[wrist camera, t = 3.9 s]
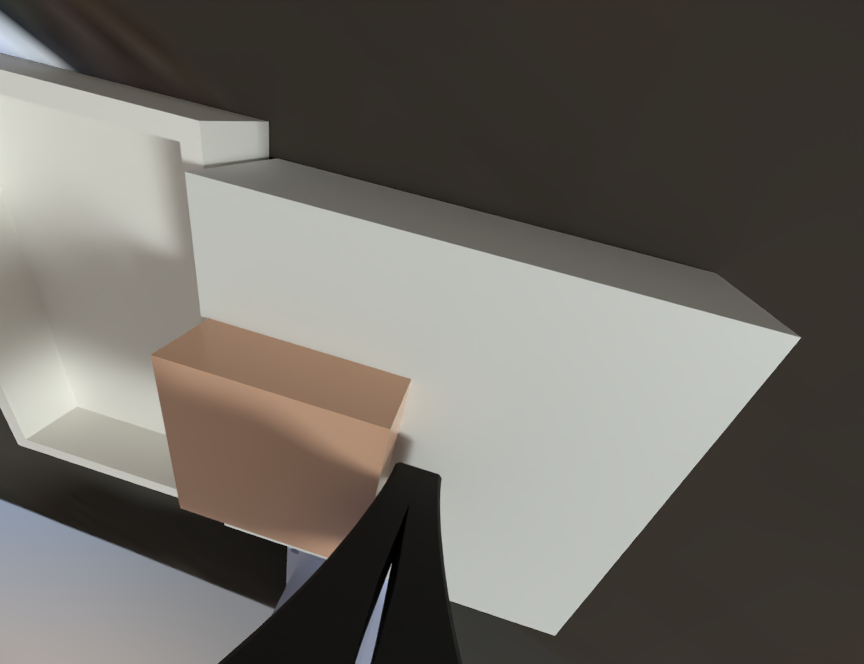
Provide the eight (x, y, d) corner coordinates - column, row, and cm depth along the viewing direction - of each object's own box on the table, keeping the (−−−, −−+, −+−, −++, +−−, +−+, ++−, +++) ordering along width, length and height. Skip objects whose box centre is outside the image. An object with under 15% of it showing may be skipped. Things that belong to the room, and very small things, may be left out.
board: (547, 540, 18) (554, 635, 15) (276, 453, 19) (224, 525, 16) (715, 273, 11) (801, 337, 8) (277, 158, 12) (184, 172, 9)
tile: (379, 511, 13) (359, 568, 12) (222, 460, 14) (180, 508, 12) (411, 379, 10) (390, 429, 9) (209, 318, 11) (150, 354, 9)
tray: (271, 465, 20) (234, 516, 17) (81, 404, 21) (18, 444, 18) (268, 121, 12) (199, 120, 9) (-43, 42, 13) (-187, 20, 10)
